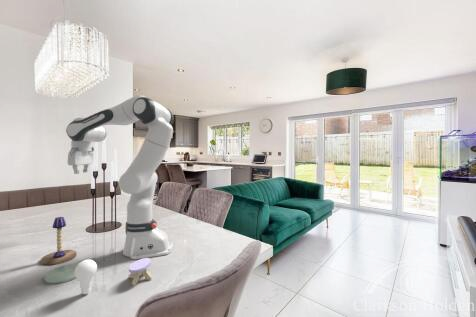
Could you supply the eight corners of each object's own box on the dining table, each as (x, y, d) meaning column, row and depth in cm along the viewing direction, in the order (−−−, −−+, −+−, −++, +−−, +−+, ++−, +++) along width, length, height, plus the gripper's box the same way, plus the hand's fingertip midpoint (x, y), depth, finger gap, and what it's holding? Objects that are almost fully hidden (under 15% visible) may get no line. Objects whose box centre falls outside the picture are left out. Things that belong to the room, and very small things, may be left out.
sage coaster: (90, 265, 91) (90, 262, 91) (74, 282, 79) (75, 278, 79) (57, 268, 88) (57, 265, 88) (36, 285, 76) (36, 281, 76)
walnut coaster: (81, 251, 103) (81, 249, 103) (67, 263, 92) (67, 261, 92) (52, 253, 101) (52, 250, 101) (33, 266, 89) (33, 263, 89)
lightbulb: (77, 302, 68) (77, 267, 68) (72, 294, 72) (72, 260, 72) (99, 293, 72) (99, 260, 72) (93, 286, 77) (94, 254, 76)
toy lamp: (49, 257, 95) (49, 218, 95) (61, 252, 99) (61, 215, 99) (57, 258, 93) (58, 219, 93) (69, 254, 98) (69, 216, 98)
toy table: (139, 289, 75) (139, 272, 75) (119, 283, 79) (119, 267, 78) (159, 274, 85) (159, 259, 85) (140, 270, 88) (140, 255, 88)
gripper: (77, 147, 112) (77, 174, 112) (95, 148, 132) (95, 171, 132) (63, 147, 111) (63, 174, 111) (83, 148, 131) (83, 171, 131)
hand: (81, 173), depth 122 cm, fingers open, 8 cm apart
